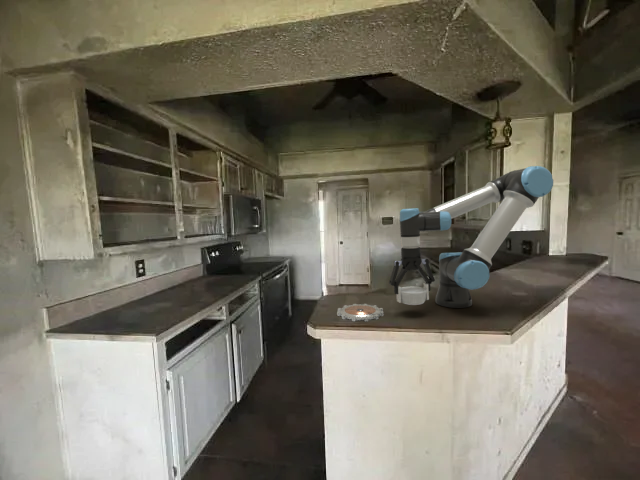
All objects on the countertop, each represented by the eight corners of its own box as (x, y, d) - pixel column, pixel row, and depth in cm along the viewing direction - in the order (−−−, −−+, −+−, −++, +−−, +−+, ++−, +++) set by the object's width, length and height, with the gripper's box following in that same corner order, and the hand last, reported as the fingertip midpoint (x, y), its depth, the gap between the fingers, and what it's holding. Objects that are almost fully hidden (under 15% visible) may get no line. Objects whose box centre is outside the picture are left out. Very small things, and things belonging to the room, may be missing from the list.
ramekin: (429, 306, 122) (428, 292, 122) (399, 306, 124) (399, 293, 124) (425, 298, 133) (424, 285, 133) (397, 298, 135) (397, 286, 135)
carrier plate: (375, 305, 143) (375, 301, 143) (390, 319, 124) (390, 315, 124) (333, 308, 141) (333, 305, 141) (342, 323, 122) (341, 319, 122)
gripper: (433, 244, 132) (435, 295, 134) (379, 248, 129) (381, 300, 131) (442, 245, 125) (444, 300, 126) (385, 250, 122) (388, 305, 123)
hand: (412, 300), depth 129 cm, fingers closed on ramekin, 11 cm apart
